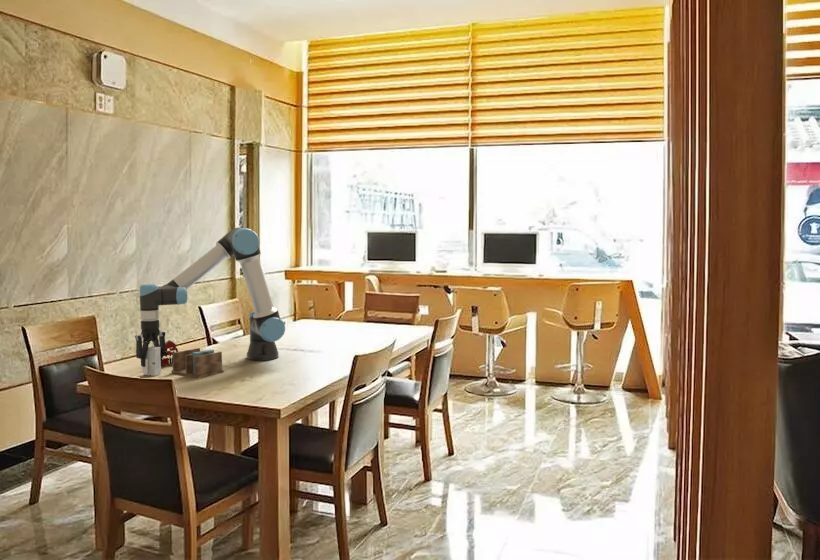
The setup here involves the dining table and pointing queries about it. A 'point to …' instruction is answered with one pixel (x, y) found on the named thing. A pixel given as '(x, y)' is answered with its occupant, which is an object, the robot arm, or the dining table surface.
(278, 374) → the dining table surface
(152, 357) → the skincare box
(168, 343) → the logo sign
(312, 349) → the dining table surface
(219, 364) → the rack
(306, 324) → the dining table surface
